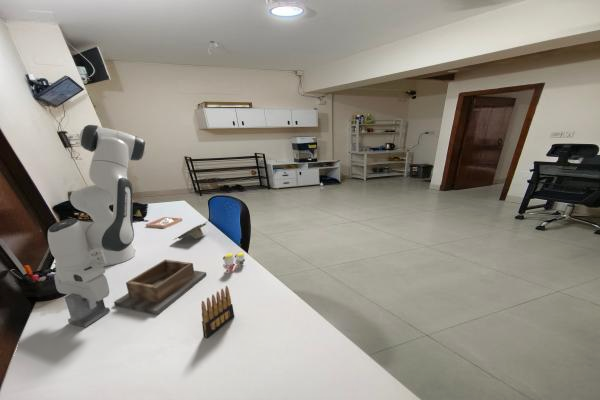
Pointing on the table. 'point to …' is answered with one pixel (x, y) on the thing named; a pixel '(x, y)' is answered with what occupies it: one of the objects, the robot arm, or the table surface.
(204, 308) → the bullet clip
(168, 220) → the rose
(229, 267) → the toy figures
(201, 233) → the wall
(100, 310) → the metal bracket
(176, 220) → the orange square frame
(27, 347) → the table surface
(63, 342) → the table surface
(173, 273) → the well box
